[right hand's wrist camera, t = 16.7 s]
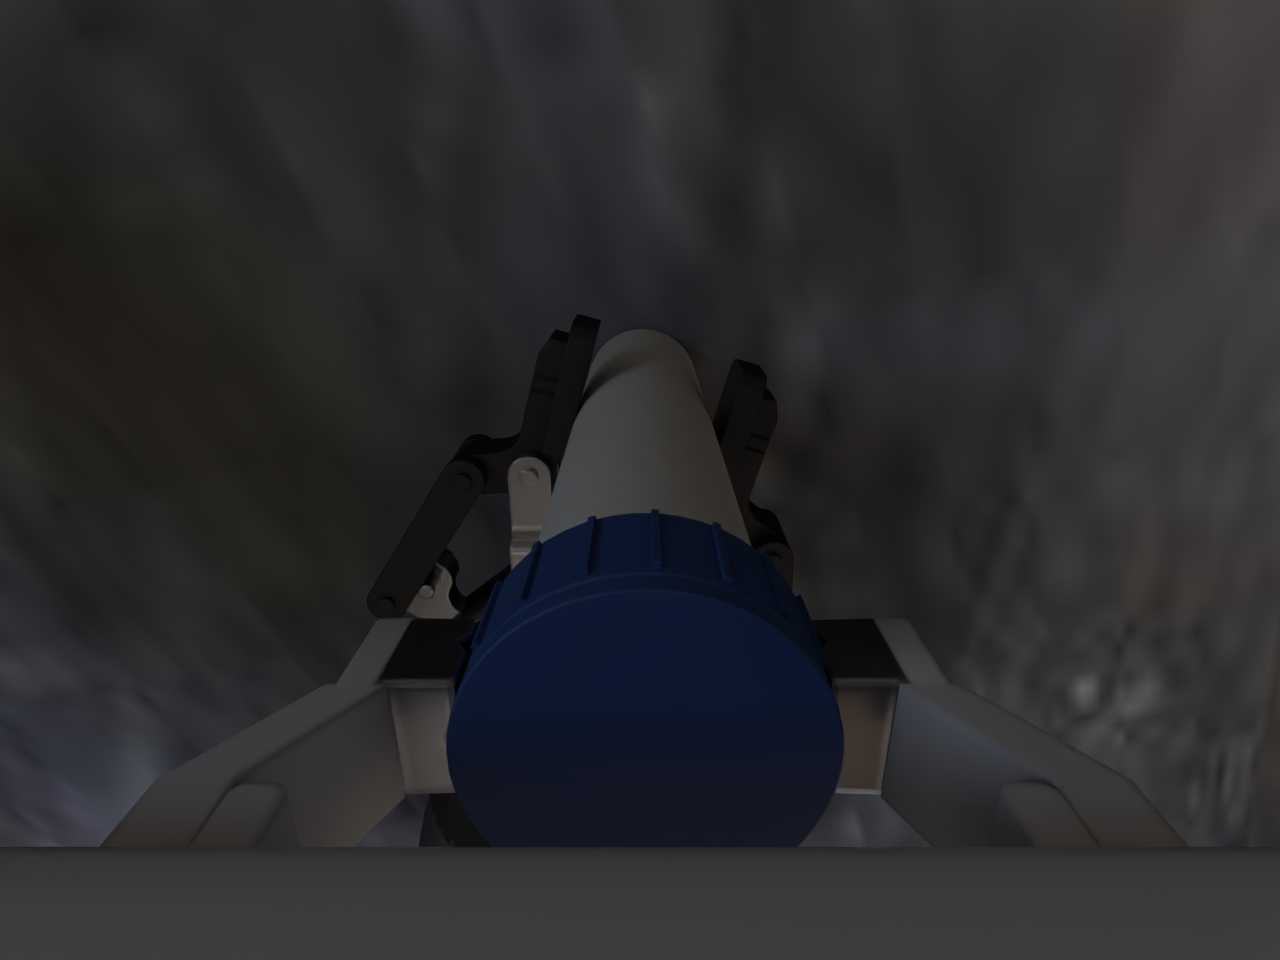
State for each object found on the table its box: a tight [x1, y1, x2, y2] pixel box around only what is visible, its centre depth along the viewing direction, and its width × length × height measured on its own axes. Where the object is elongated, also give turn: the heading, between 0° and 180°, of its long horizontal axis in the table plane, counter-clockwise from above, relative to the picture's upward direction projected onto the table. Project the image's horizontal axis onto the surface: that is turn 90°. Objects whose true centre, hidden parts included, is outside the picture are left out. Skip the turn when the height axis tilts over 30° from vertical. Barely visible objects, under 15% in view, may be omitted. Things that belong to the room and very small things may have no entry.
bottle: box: [538, 329, 751, 546], centre depth 18 cm, size 4×4×19 cm
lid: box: [446, 509, 844, 847], centre depth 10 cm, size 5×5×2 cm
